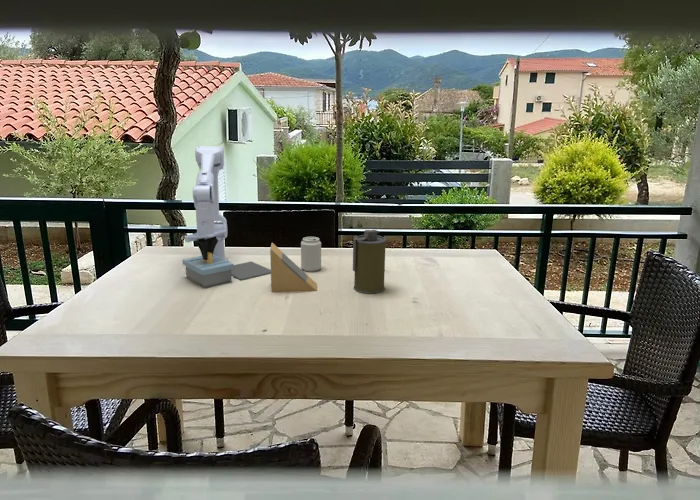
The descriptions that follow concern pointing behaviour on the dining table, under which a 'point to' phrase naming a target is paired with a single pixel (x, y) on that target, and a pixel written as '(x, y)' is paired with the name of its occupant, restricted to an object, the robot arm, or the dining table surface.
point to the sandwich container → (288, 274)
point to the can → (311, 254)
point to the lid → (208, 264)
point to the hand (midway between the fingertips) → (207, 259)
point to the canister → (369, 262)
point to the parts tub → (209, 278)
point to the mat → (249, 270)
